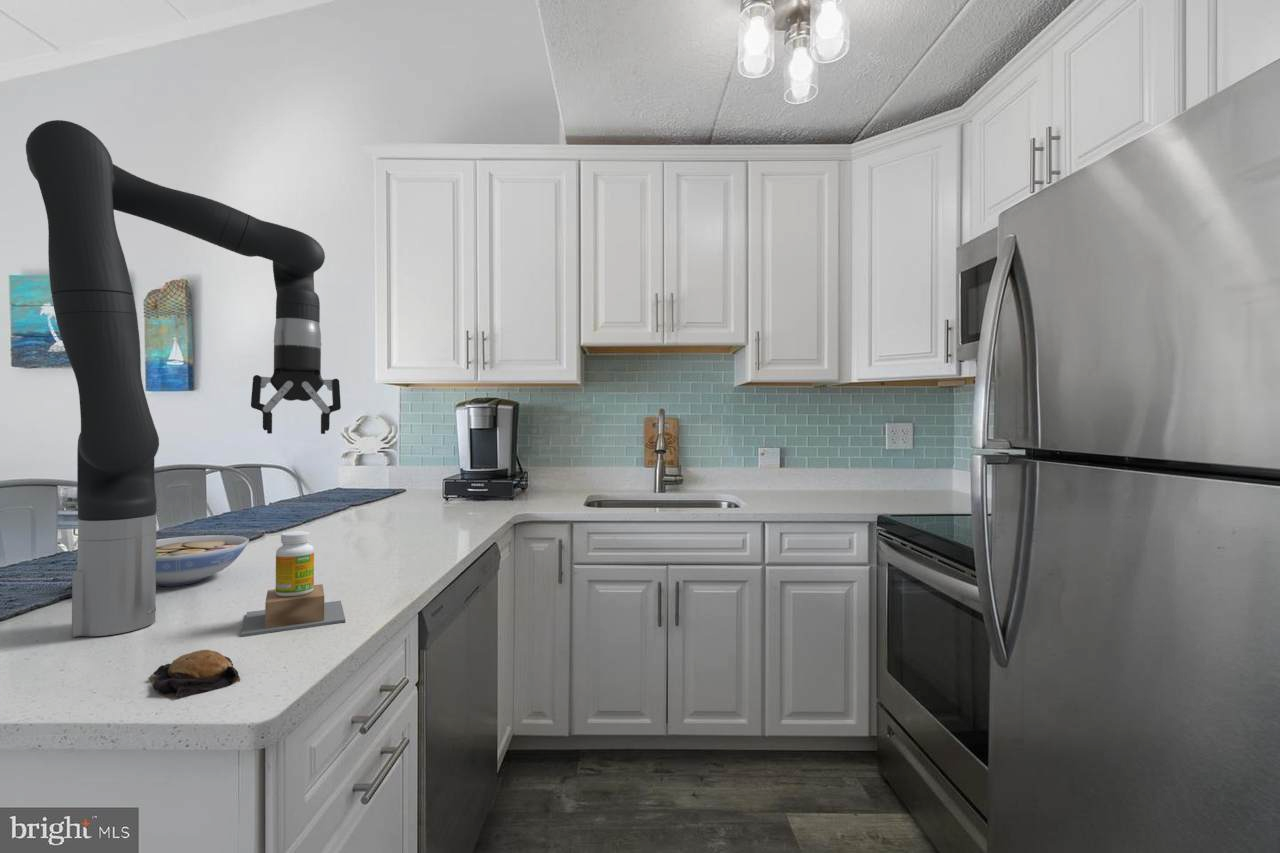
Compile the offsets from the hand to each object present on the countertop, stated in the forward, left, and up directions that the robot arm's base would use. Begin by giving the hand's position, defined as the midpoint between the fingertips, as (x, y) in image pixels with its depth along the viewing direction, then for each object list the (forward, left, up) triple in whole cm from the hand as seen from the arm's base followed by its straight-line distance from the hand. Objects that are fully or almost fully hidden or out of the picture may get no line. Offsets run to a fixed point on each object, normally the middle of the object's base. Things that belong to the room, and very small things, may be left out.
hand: (296, 433), depth 110 cm
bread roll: (-11, -35, -31) cm, 48 cm away
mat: (0, -14, -30) cm, 33 cm away
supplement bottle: (0, -15, -26) cm, 30 cm away
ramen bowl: (-20, +23, -30) cm, 43 cm away
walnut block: (0, -15, -30) cm, 33 cm away
